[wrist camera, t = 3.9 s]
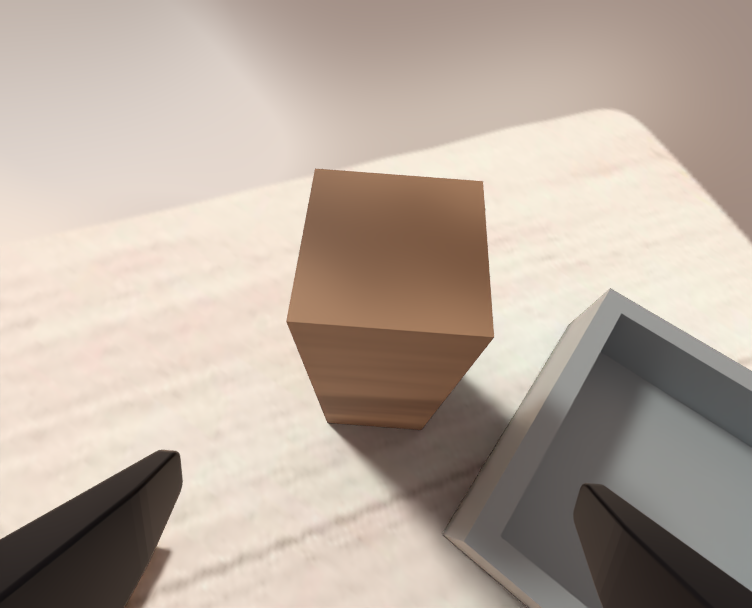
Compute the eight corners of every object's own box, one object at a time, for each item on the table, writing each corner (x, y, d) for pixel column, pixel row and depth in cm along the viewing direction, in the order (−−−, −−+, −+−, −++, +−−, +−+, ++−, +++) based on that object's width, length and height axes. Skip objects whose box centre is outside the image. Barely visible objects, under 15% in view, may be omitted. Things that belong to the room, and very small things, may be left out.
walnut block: (421, 429, 21) (494, 337, 10) (327, 422, 21) (286, 321, 10) (422, 342, 23) (482, 181, 12) (337, 335, 23) (315, 168, 12)
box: (815, 479, 21) (925, 472, 17) (742, 790, 15) (877, 890, 11) (569, 324, 24) (610, 288, 20) (441, 533, 19) (463, 541, 15)
